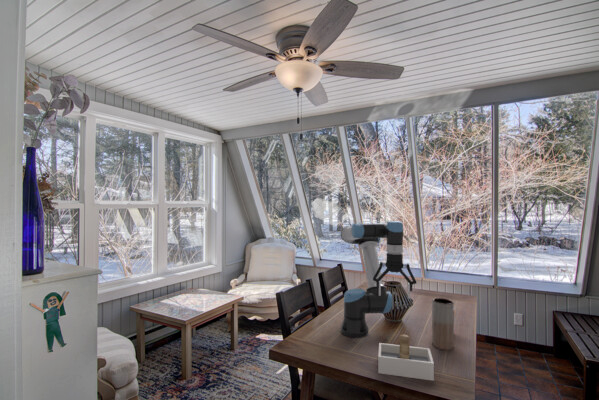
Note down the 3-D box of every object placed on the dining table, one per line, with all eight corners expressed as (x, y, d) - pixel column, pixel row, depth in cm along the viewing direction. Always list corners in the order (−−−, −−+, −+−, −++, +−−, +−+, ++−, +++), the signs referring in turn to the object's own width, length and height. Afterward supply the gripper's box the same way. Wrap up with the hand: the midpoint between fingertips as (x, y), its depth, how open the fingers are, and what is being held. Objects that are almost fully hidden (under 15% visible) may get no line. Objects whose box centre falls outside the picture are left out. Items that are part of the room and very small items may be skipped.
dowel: (399, 365, 143) (399, 334, 143) (408, 366, 142) (408, 335, 142) (399, 370, 139) (399, 337, 139) (409, 371, 138) (409, 338, 138)
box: (378, 373, 137) (378, 356, 137) (379, 357, 150) (379, 342, 150) (433, 380, 131) (433, 363, 131) (429, 364, 144) (429, 348, 144)
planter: (432, 348, 160) (432, 302, 160) (432, 340, 170) (431, 297, 170) (454, 351, 157) (454, 304, 157) (452, 343, 166) (452, 299, 166)
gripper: (367, 252, 156) (367, 296, 156) (422, 255, 149) (422, 301, 150) (368, 250, 163) (368, 291, 163) (421, 253, 156) (420, 296, 157)
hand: (394, 296), depth 157 cm, fingers open, 13 cm apart
